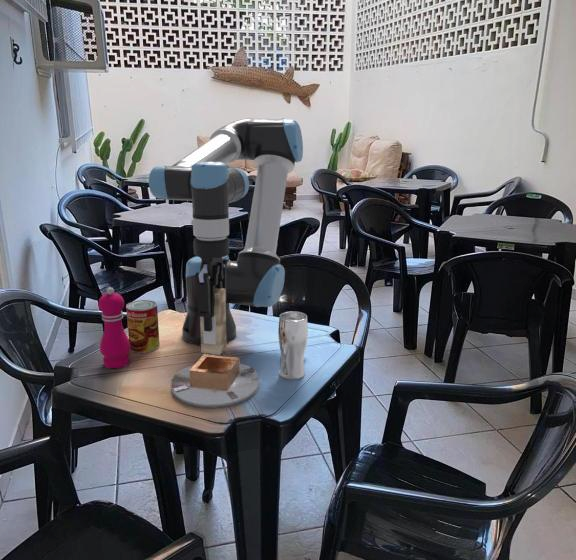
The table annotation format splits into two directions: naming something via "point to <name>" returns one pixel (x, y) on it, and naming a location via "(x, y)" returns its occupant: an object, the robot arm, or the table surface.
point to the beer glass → (292, 344)
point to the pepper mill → (113, 331)
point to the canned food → (143, 326)
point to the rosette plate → (215, 382)
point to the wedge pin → (217, 325)
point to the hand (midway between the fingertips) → (214, 338)
